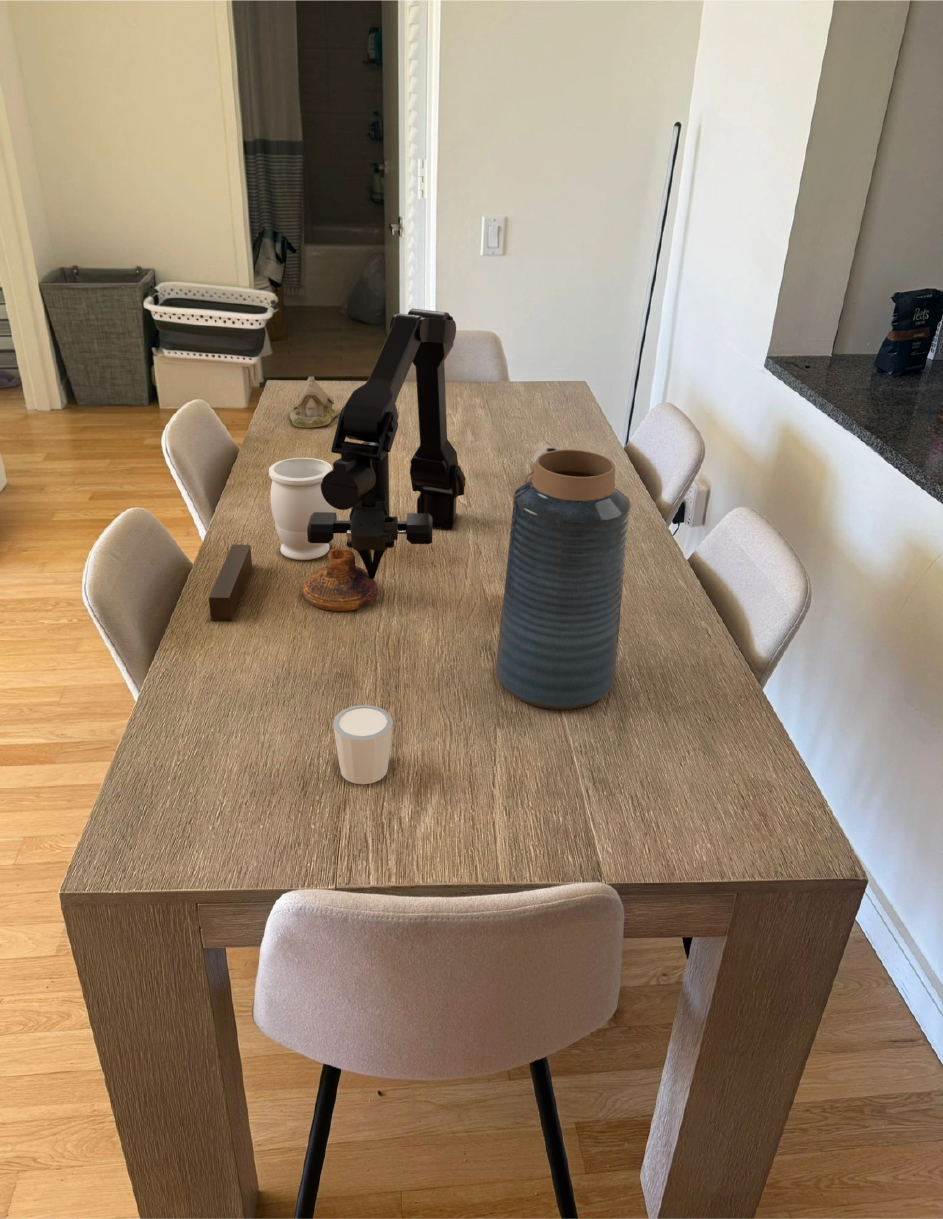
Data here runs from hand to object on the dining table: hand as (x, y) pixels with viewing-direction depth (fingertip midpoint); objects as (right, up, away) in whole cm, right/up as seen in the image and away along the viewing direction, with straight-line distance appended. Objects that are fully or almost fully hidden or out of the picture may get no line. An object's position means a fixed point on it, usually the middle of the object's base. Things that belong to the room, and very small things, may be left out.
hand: (372, 577), depth 148 cm
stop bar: (-22, -2, +1) cm, 22 cm away
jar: (-13, +5, +15) cm, 20 cm away
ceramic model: (-22, +40, +75) cm, 88 cm away
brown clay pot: (-5, -3, +1) cm, 6 cm away
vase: (+27, -15, -17) cm, 35 cm away
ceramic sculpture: (+31, +19, +43) cm, 57 cm away
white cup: (+3, -24, -36) cm, 43 cm away
